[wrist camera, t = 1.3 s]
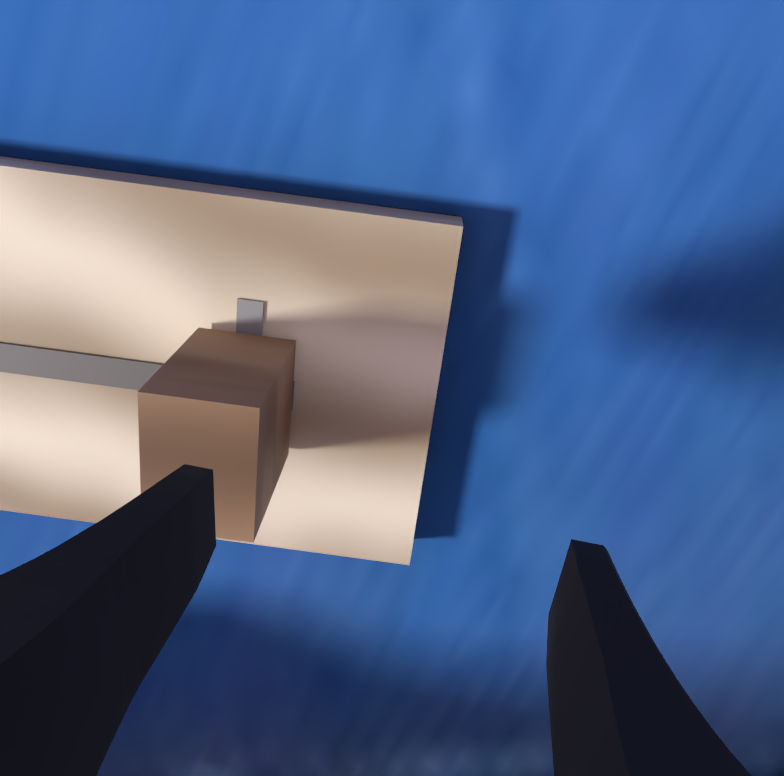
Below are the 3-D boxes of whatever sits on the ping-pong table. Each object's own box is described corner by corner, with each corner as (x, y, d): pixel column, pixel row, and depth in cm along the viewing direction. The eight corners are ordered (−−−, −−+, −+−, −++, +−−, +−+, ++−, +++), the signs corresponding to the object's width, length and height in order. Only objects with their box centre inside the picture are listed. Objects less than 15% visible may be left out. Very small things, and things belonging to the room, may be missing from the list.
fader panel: (411, 539, 26) (409, 566, 25) (-328, 440, 27) (-373, 461, 25) (461, 216, 22) (463, 227, 20) (-444, 97, 22) (-508, 99, 20)
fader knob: (288, 454, 23) (253, 542, 19) (197, 442, 23) (141, 527, 19) (296, 340, 22) (259, 408, 17) (198, 327, 22) (137, 392, 17)
